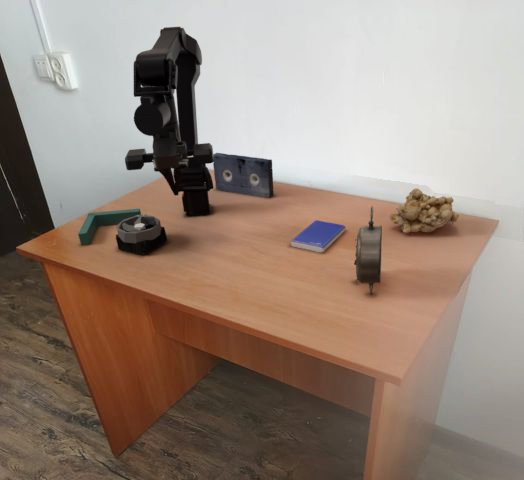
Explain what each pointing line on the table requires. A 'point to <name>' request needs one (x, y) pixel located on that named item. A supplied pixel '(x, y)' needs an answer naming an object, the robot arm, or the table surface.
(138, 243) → the cpu cooler
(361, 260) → the alarm clock
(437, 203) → the mineral formation
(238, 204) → the table surface
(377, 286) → the table surface
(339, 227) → the blue book
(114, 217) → the corner stop
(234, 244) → the table surface
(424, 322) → the table surface
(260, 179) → the vhs cassette tape
